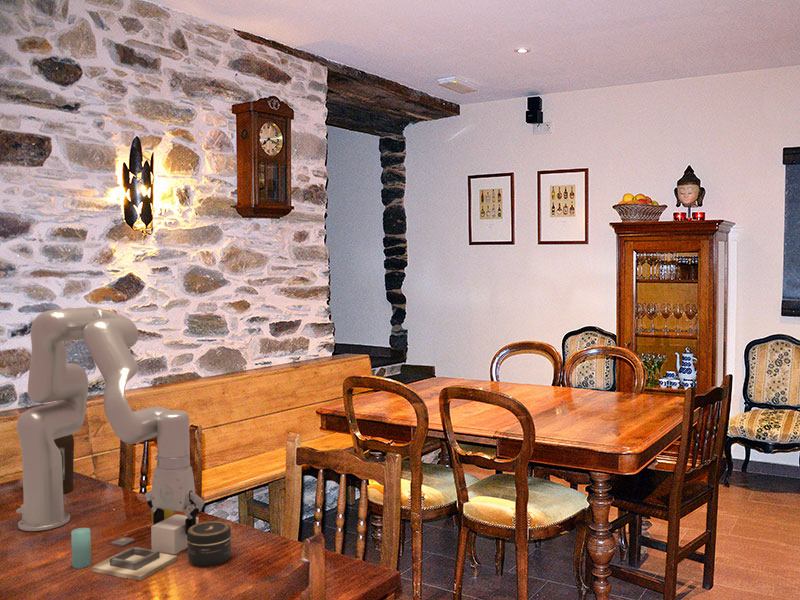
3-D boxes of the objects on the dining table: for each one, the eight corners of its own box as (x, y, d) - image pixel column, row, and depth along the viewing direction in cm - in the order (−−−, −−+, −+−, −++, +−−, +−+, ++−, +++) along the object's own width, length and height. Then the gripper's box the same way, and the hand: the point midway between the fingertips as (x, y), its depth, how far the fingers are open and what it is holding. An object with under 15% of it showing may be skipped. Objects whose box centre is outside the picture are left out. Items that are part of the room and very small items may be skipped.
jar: (233, 550, 174) (232, 518, 173) (230, 567, 164) (229, 534, 164) (190, 553, 172) (189, 521, 172) (185, 570, 162) (184, 537, 162)
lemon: (167, 533, 185) (166, 502, 185) (147, 532, 186) (146, 501, 186) (177, 526, 190) (177, 496, 190) (158, 524, 191) (158, 495, 191)
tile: (110, 544, 178) (110, 541, 178) (122, 538, 182) (122, 536, 182) (123, 546, 177) (123, 544, 176) (135, 540, 180) (135, 538, 180)
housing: (151, 550, 174) (151, 526, 174) (176, 537, 182) (176, 514, 182) (175, 554, 171) (174, 529, 171) (199, 541, 179) (198, 517, 179)
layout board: (91, 571, 162) (91, 560, 162) (130, 551, 173) (130, 541, 173) (140, 581, 157) (140, 569, 157) (177, 560, 168) (176, 549, 168)
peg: (68, 566, 165) (67, 532, 164) (82, 560, 168) (81, 526, 168) (81, 569, 163) (80, 534, 163) (95, 562, 167) (94, 528, 167)
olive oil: (42, 487, 225) (40, 408, 224) (79, 485, 228) (76, 406, 226) (32, 498, 215) (30, 415, 214) (70, 495, 217) (68, 413, 216)
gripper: (135, 461, 176) (136, 530, 176) (192, 469, 169) (193, 541, 170) (156, 454, 182) (157, 520, 183) (212, 461, 176) (213, 530, 177)
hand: (174, 530), depth 177 cm, fingers open, 9 cm apart
